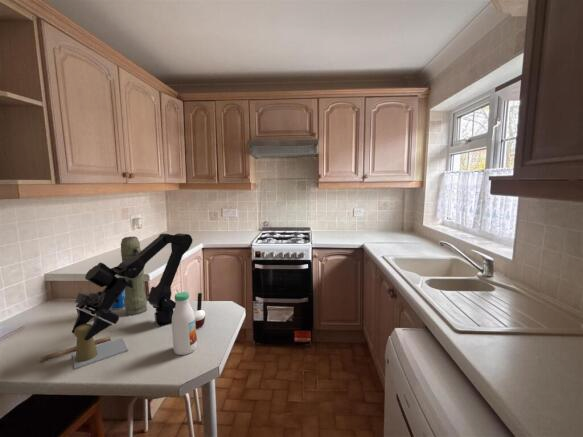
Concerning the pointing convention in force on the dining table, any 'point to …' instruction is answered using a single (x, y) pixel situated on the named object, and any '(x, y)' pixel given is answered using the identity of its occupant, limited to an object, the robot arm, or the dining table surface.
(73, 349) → the walnut line
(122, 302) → the beverage can
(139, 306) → the thermos
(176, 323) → the milk bottle
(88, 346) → the cork
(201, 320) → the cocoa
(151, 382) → the dining table surface
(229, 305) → the dining table surface
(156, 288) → the robot arm
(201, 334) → the dining table surface
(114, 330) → the dining table surface
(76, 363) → the mat
